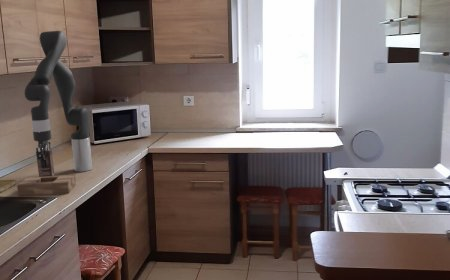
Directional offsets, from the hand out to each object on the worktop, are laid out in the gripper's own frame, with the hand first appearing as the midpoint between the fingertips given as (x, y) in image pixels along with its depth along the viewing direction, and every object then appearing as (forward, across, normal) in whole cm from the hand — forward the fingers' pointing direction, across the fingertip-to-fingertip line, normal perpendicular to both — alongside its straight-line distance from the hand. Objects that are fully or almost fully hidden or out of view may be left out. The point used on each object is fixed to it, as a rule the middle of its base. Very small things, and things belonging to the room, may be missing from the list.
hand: (45, 166), depth 219 cm
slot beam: (+11, 0, 0) cm, 11 cm away
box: (+5, 0, 0) cm, 5 cm away
